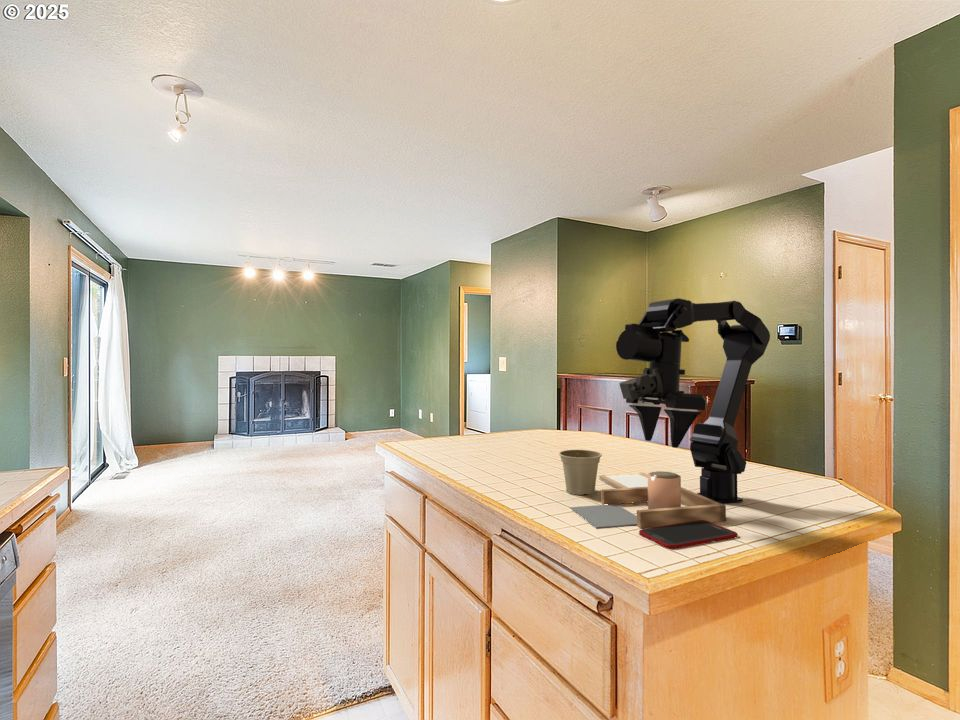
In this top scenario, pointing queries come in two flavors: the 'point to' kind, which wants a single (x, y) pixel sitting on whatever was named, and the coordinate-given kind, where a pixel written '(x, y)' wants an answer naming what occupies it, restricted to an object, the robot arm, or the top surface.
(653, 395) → the robot arm
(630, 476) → the wood framed whiteboard
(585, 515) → the mat
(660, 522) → the wooden u-shaped frame
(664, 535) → the cell phone
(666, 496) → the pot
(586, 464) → the flower pot
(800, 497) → the top surface
